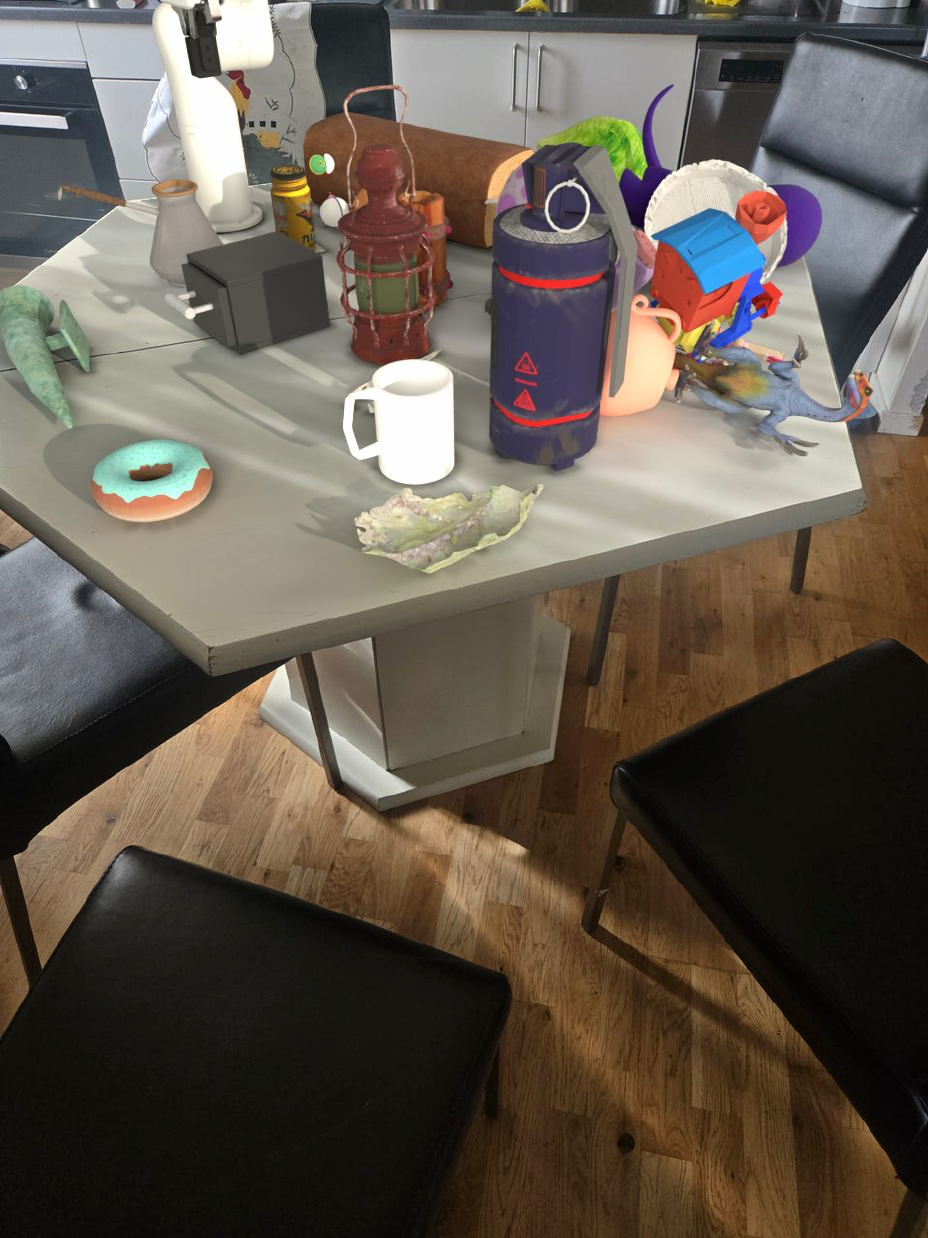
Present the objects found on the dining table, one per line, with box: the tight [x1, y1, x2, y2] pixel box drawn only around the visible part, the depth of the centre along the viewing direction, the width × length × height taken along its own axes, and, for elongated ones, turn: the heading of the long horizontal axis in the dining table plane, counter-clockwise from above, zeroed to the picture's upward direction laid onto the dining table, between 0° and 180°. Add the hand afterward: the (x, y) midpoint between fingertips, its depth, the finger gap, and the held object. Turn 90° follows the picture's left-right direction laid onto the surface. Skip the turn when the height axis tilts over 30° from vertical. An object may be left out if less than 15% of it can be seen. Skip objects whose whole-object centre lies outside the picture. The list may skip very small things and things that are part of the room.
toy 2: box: [495, 164, 657, 312], centre depth 121 cm, size 17×23×30 cm
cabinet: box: [186, 230, 331, 355], centre depth 119 cm, size 14×12×10 cm
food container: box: [644, 159, 788, 285], centre depth 127 cm, size 20×20×7 cm
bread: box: [302, 111, 536, 249], centre depth 150 cm, size 16×39×13 cm, turn 54°
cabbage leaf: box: [354, 482, 545, 574], centre depth 85 cm, size 16×8×15 cm
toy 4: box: [675, 326, 786, 366], centre depth 110 cm, size 7×6×15 cm
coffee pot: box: [57, 179, 224, 288], centre depth 128 cm, size 21×12×15 cm, turn 114°
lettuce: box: [535, 115, 648, 185], centre depth 150 cm, size 15×22×15 cm, turn 54°
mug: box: [350, 188, 454, 308], centre depth 124 cm, size 15×8×15 cm, turn 71°
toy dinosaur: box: [672, 319, 874, 457], centre depth 102 cm, size 11×22×20 cm
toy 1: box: [309, 154, 350, 233], centre depth 147 cm, size 6×12×8 cm
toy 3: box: [619, 83, 823, 268], centre depth 135 cm, size 21×24×30 cm
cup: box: [342, 358, 455, 485], centre depth 93 cm, size 8×12×10 cm
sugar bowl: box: [599, 293, 681, 417], centre depth 101 cm, size 12×14×10 cm
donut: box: [90, 438, 214, 523], centre depth 91 cm, size 12×12×4 cm
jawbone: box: [347, 348, 442, 414], centre depth 110 cm, size 17×5×2 cm, turn 148°
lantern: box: [335, 84, 436, 365], centre depth 107 cm, size 12×12×30 cm
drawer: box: [164, 263, 237, 350], centre depth 118 cm, size 16×10×8 cm, turn 128°
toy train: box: [649, 191, 787, 364], centre depth 100 cm, size 10×16×15 cm, turn 118°
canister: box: [488, 142, 638, 472], centre depth 89 cm, size 14×12×30 cm
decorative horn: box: [0, 284, 91, 430], centre depth 109 cm, size 7×11×30 cm
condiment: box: [269, 164, 327, 254], centre depth 139 cm, size 7×8×12 cm
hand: (206, 75), depth 106 cm, fingers closed
